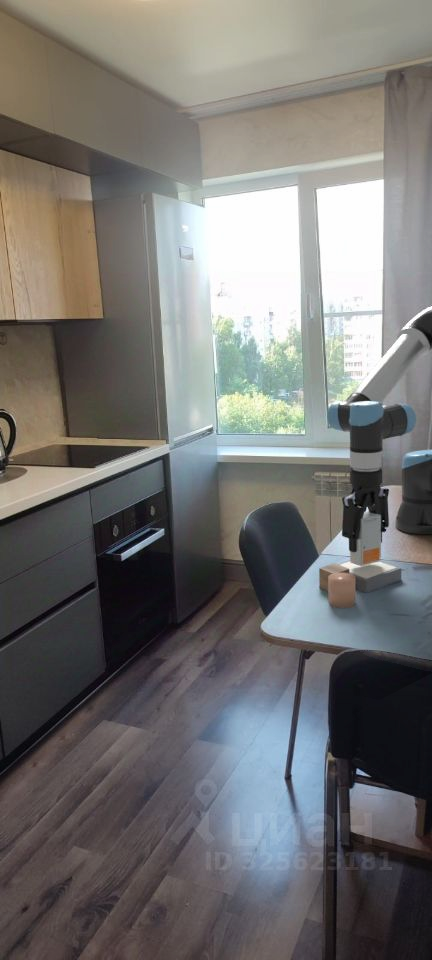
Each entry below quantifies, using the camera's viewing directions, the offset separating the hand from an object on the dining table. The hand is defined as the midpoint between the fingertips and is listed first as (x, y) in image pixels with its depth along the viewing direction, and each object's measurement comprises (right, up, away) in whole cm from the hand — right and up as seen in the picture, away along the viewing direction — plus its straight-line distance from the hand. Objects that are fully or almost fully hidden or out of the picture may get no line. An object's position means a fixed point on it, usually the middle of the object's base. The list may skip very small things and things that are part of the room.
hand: (365, 560), depth 164 cm
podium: (0, -5, +1) cm, 5 cm away
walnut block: (-8, -6, -3) cm, 11 cm away
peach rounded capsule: (-8, -8, -11) cm, 16 cm away
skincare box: (0, -1, 0) cm, 1 cm away
